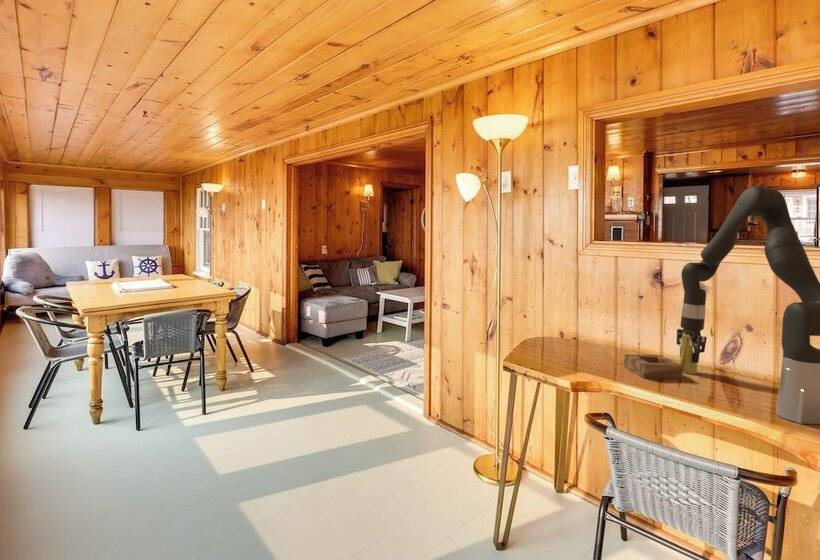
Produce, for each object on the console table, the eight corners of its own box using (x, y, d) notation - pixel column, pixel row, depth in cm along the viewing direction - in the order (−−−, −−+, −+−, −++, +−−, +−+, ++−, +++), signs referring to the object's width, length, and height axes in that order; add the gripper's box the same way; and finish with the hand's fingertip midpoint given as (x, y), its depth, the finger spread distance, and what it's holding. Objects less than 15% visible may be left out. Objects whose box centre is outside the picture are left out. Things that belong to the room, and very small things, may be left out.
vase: (699, 375, 174) (703, 337, 172) (681, 373, 175) (685, 335, 173) (693, 370, 179) (697, 333, 178) (675, 368, 181) (679, 332, 179)
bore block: (681, 379, 168) (683, 365, 167) (643, 378, 167) (644, 364, 167) (659, 367, 182) (660, 354, 181) (623, 366, 181) (624, 354, 180)
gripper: (716, 320, 168) (711, 365, 170) (690, 312, 182) (686, 355, 184) (695, 319, 167) (691, 365, 169) (671, 312, 182) (667, 354, 184)
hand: (688, 359), depth 177 cm, fingers open, 6 cm apart
